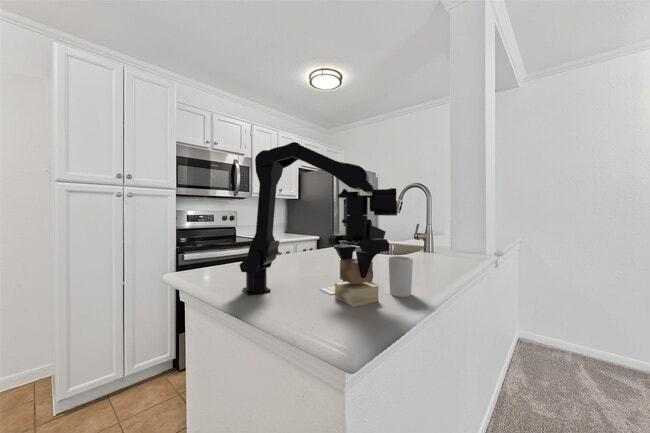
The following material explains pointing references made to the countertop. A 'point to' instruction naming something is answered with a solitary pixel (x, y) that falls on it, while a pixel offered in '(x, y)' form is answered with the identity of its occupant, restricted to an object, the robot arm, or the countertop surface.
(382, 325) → the countertop surface
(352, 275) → the walnut block
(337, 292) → the base block
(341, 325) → the countertop surface
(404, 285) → the drinking glass
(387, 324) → the countertop surface
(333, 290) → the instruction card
